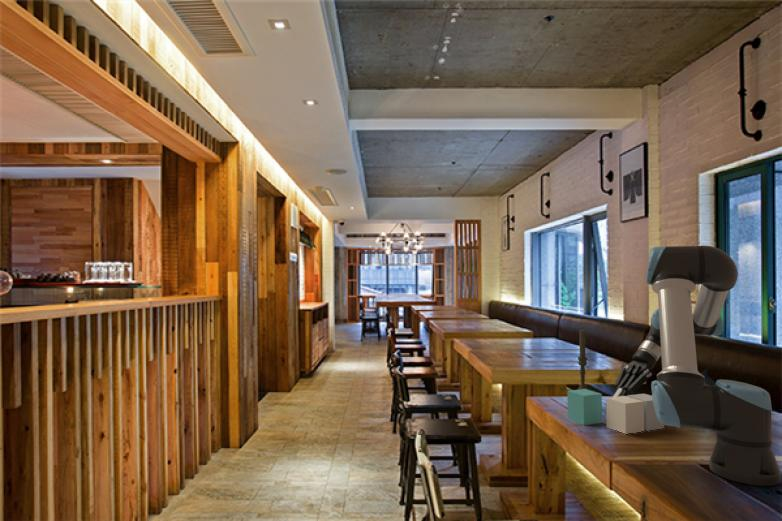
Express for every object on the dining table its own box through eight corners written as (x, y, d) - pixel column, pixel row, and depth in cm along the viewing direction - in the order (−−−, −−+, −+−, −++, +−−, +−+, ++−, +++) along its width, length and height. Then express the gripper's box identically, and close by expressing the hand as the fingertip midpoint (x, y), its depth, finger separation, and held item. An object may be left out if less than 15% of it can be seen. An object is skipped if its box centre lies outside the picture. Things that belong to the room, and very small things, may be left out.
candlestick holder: (599, 404, 199) (598, 328, 200) (589, 409, 193) (589, 330, 193) (576, 400, 205) (575, 326, 206) (566, 404, 199) (566, 328, 200)
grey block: (644, 422, 176) (644, 393, 176) (664, 429, 168) (664, 398, 169) (627, 424, 173) (626, 395, 173) (646, 431, 165) (646, 401, 166)
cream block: (624, 425, 172) (624, 395, 173) (644, 432, 165) (643, 401, 165) (606, 427, 170) (606, 397, 170) (625, 434, 162) (625, 403, 162)
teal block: (585, 416, 183) (585, 388, 183) (602, 422, 175) (601, 393, 175) (567, 419, 180) (567, 390, 180) (583, 425, 172) (583, 395, 173)
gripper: (667, 365, 184) (633, 415, 177) (638, 359, 196) (605, 406, 189) (656, 351, 182) (621, 402, 175) (627, 346, 194) (594, 393, 188)
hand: (613, 404), depth 182 cm, fingers closed
